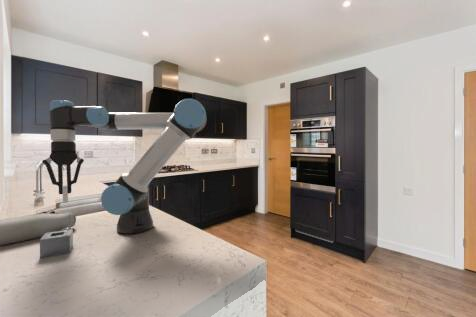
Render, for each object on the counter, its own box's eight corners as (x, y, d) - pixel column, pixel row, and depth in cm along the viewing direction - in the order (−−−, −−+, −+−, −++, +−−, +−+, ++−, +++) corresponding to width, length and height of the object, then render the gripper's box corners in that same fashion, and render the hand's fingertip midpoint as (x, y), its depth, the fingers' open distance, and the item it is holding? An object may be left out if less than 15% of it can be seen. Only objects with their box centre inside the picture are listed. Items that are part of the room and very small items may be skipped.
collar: (72, 244, 85) (72, 229, 85) (69, 252, 78) (69, 235, 78) (45, 249, 81) (45, 232, 81) (39, 257, 74) (39, 239, 74)
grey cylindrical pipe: (-15, 241, 87) (72, 224, 108) (-15, 253, 80) (78, 233, 101) (-16, 217, 86) (73, 205, 107) (-16, 227, 79) (78, 212, 100)
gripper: (83, 142, 93) (85, 198, 93) (42, 141, 85) (44, 203, 85) (84, 140, 87) (86, 201, 87) (39, 140, 79) (42, 206, 79)
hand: (65, 202), depth 86 cm, fingers closed
